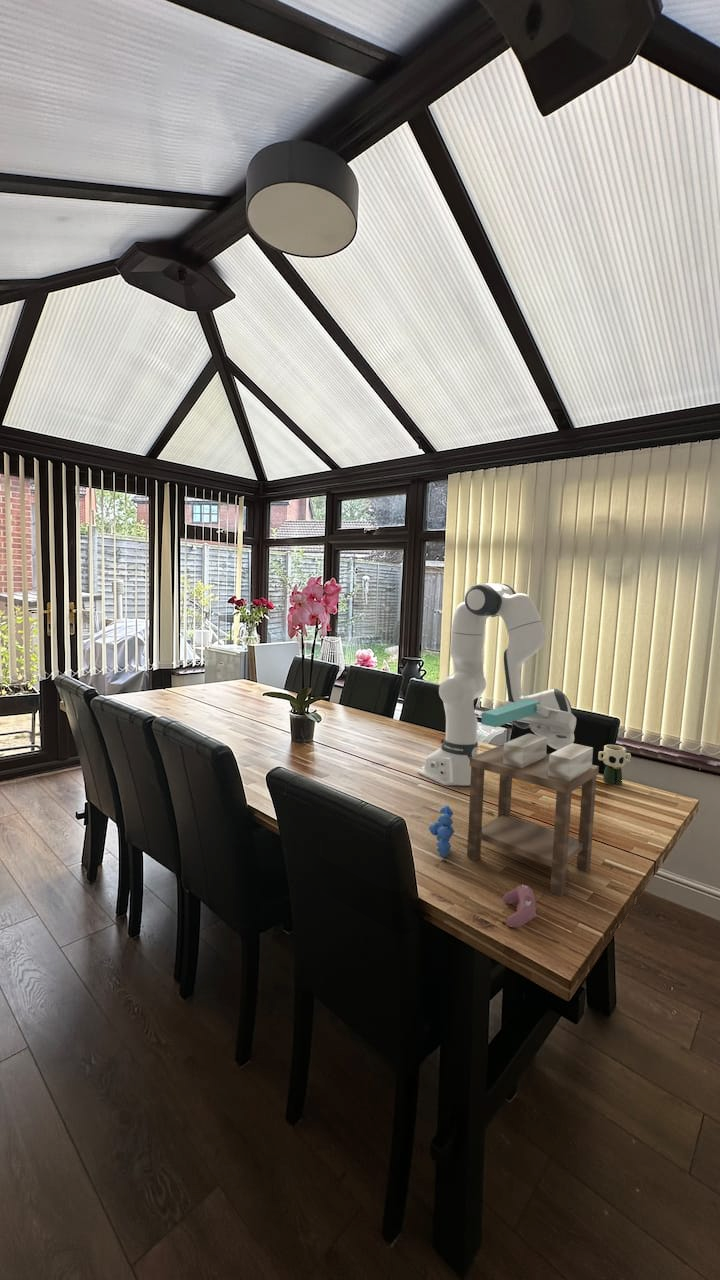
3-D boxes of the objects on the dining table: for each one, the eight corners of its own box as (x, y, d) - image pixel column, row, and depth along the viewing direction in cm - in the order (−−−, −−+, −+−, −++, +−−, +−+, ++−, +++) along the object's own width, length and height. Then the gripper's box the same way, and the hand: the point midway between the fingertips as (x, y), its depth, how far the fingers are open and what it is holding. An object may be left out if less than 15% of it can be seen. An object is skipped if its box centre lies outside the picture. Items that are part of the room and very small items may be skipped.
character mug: (599, 785, 187) (602, 749, 186) (593, 777, 194) (596, 743, 193) (632, 787, 186) (634, 751, 184) (625, 780, 193) (627, 745, 191)
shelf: (465, 856, 135) (470, 738, 132) (500, 833, 148) (506, 725, 145) (561, 897, 118) (570, 762, 115) (591, 867, 131) (600, 746, 128)
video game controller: (524, 938, 106) (542, 911, 105) (504, 926, 107) (522, 899, 105) (519, 909, 116) (536, 884, 114) (500, 898, 116) (517, 873, 115)
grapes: (430, 839, 144) (432, 797, 142) (455, 843, 142) (457, 800, 141) (424, 860, 132) (426, 814, 131) (452, 864, 131) (453, 818, 130)
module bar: (481, 724, 132) (481, 712, 132) (525, 709, 150) (526, 699, 149) (495, 727, 130) (496, 715, 129) (539, 712, 147) (539, 701, 147)
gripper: (515, 706, 163) (497, 689, 154) (582, 719, 149) (566, 701, 140) (509, 725, 161) (490, 709, 152) (576, 740, 147) (560, 723, 138)
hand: (527, 705), depth 146 cm, fingers closed on module bar, 4 cm apart
